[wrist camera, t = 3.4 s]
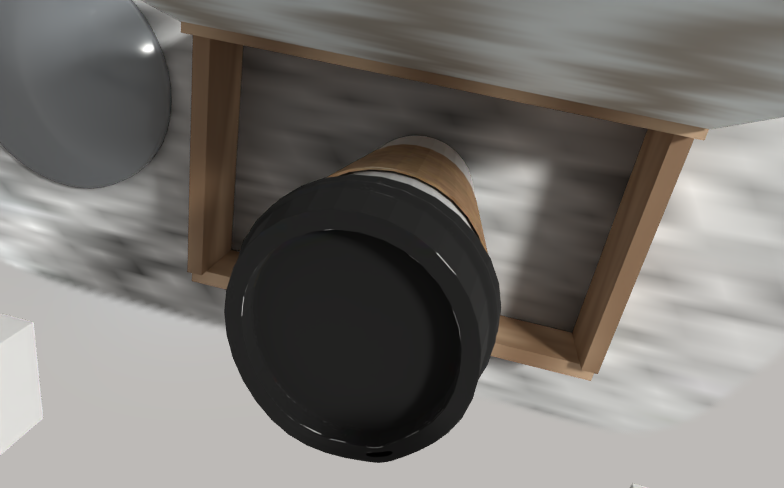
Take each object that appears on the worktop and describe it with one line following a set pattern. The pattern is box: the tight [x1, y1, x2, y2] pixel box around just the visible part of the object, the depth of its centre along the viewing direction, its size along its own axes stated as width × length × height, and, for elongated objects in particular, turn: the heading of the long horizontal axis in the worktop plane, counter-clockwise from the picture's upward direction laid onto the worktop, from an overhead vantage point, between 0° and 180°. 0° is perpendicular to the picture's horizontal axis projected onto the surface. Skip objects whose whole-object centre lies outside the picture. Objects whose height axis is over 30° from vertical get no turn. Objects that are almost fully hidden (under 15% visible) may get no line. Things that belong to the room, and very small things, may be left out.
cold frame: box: [142, 0, 784, 381], centre depth 19 cm, size 22×19×18 cm
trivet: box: [0, 0, 171, 188], centre depth 29 cm, size 12×12×1 cm
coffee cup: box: [224, 135, 501, 463], centre depth 21 cm, size 8×8×15 cm
